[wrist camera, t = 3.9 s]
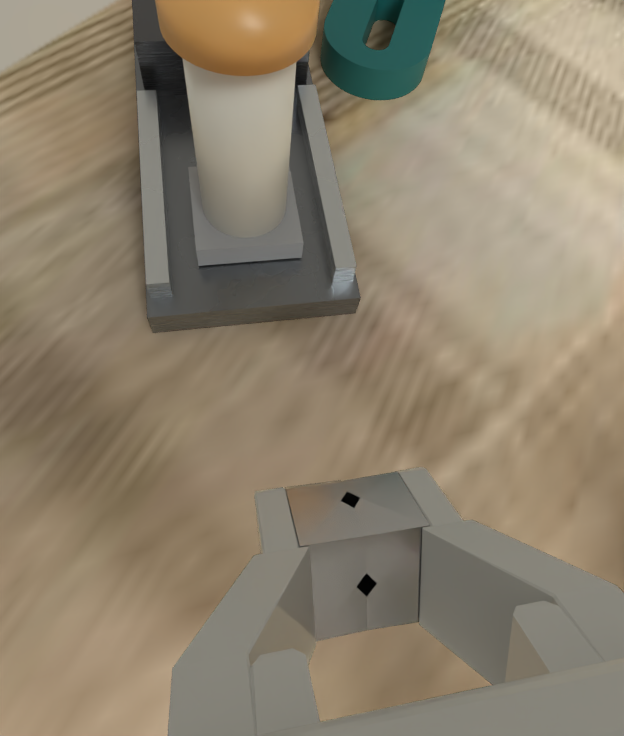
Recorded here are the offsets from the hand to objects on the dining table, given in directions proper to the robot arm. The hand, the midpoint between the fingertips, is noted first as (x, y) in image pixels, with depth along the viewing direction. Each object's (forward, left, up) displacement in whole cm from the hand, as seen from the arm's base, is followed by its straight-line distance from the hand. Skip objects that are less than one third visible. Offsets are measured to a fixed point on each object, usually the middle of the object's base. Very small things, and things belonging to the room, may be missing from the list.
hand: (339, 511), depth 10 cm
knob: (0, -16, -13) cm, 21 cm away
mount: (0, -21, -14) cm, 25 cm away
